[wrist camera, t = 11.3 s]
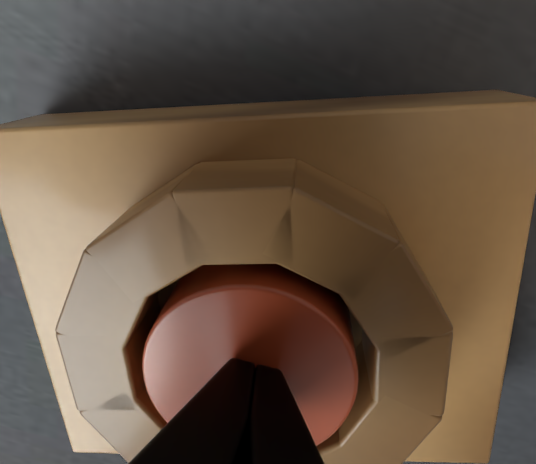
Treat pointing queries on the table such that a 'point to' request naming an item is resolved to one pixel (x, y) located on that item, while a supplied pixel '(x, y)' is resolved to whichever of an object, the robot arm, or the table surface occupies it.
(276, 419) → the robot arm
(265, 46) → the table surface
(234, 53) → the table surface
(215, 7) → the table surface
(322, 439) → the button
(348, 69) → the table surface
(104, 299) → the button block
